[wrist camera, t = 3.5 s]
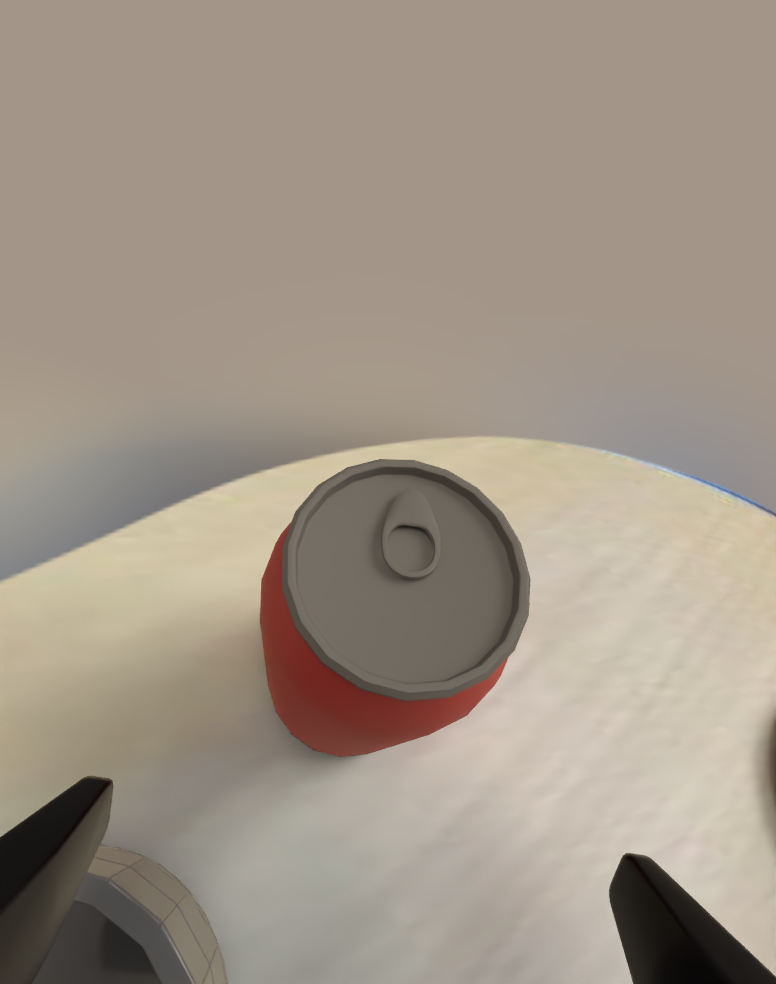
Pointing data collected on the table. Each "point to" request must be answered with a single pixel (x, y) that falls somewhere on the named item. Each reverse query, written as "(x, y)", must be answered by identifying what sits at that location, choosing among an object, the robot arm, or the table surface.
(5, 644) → the table surface
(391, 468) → the beer can
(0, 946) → the robot arm
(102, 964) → the grey bowl
